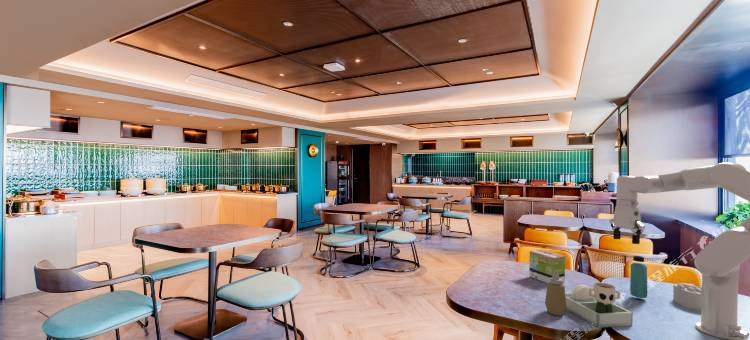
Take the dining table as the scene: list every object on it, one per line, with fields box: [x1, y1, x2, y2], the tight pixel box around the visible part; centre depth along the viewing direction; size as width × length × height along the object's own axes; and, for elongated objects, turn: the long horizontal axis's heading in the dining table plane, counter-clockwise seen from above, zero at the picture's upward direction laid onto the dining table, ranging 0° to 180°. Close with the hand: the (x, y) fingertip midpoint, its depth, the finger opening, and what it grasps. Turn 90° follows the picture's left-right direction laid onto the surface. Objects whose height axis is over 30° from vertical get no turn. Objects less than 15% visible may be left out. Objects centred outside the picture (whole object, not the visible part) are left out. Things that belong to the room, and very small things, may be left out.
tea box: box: [528, 249, 566, 284], centre depth 186 cm, size 15×10×15 cm, turn 25°
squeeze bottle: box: [544, 270, 567, 317], centre depth 143 cm, size 8×8×18 cm
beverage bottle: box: [629, 255, 649, 299], centre depth 160 cm, size 6×7×20 cm
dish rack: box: [565, 292, 634, 329], centre depth 142 cm, size 22×15×5 cm
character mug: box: [589, 282, 621, 314], centre depth 137 cm, size 11×7×13 cm, turn 74°
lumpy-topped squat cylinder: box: [672, 282, 702, 311], centre depth 154 cm, size 10×13×9 cm
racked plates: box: [571, 284, 595, 301], centre depth 148 cm, size 3×9×9 cm, turn 98°
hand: (626, 241), depth 153 cm, fingers open, 9 cm apart
